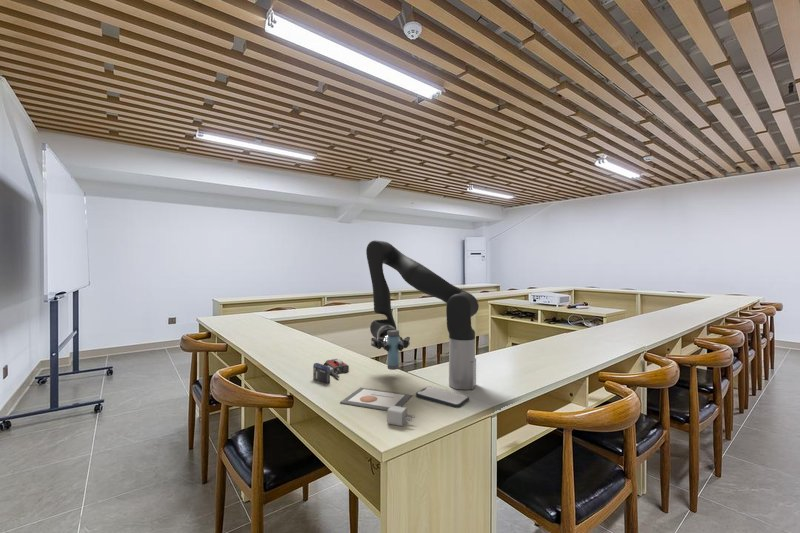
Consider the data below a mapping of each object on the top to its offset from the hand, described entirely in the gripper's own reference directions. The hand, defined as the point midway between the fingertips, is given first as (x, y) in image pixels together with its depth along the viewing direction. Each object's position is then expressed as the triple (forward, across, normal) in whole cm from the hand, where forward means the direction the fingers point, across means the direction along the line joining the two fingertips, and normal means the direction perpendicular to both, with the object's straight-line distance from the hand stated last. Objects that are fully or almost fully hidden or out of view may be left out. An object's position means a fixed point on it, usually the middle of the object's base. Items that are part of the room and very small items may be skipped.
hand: (394, 347), depth 112 cm
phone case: (-2, +16, +18) cm, 24 cm away
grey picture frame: (-3, -5, +17) cm, 18 cm away
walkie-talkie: (-36, -19, +18) cm, 44 cm away
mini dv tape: (-25, -24, +18) cm, 39 cm away
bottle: (-3, 0, +7) cm, 8 cm away
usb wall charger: (+15, 0, +18) cm, 23 cm away
